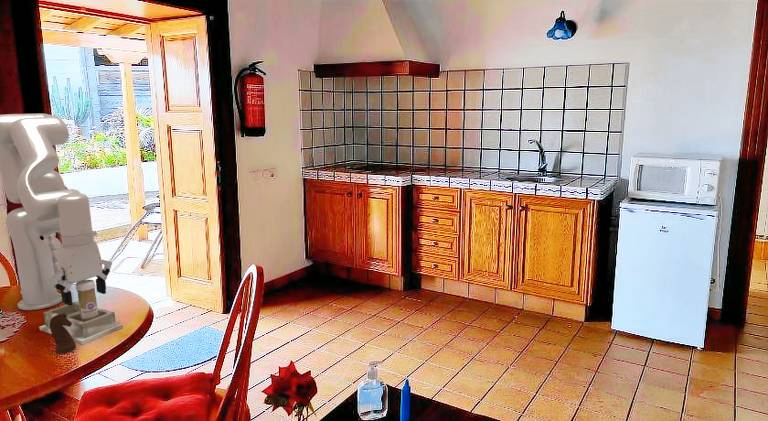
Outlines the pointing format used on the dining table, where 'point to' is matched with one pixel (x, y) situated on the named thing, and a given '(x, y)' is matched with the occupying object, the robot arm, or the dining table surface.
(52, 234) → the plastic bottle
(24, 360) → the dining table surface
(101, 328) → the slot rack
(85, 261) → the robot arm
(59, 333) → the chess piece
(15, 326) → the dining table surface
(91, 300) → the sprinkles bottle
